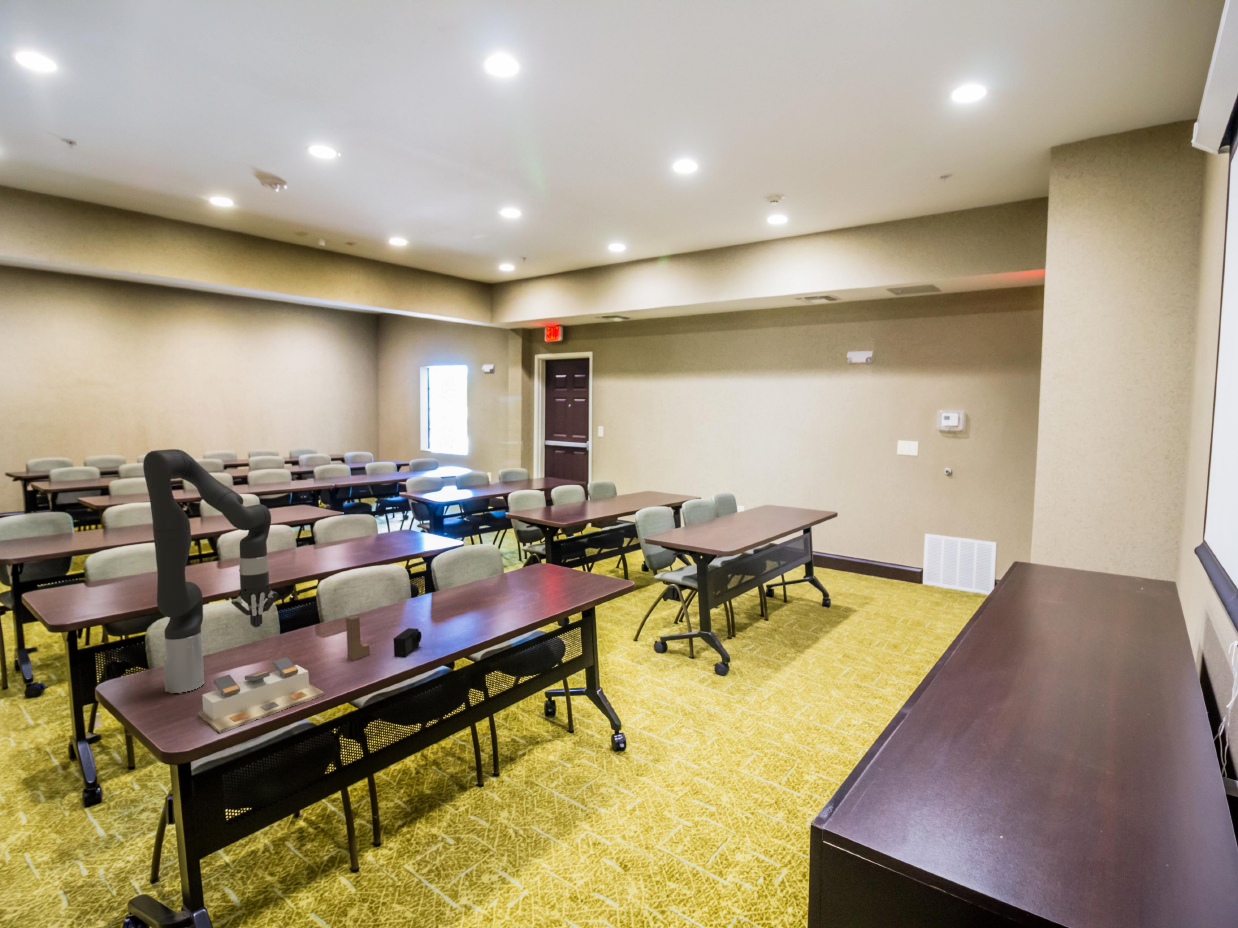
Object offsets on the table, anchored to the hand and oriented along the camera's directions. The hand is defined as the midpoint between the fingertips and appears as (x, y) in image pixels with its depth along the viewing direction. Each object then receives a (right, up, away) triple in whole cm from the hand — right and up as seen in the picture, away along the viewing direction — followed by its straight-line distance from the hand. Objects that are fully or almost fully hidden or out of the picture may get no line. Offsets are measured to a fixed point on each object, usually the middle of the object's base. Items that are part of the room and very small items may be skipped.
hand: (256, 626), depth 183 cm
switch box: (+3, -21, -4) cm, 21 cm away
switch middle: (+3, -14, -5) cm, 15 cm away
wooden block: (+19, -19, +29) cm, 40 cm away
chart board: (+6, -22, -6) cm, 23 cm away
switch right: (+8, -13, +2) cm, 15 cm away
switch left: (-2, -14, -11) cm, 18 cm away
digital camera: (+35, -19, +34) cm, 52 cm away
